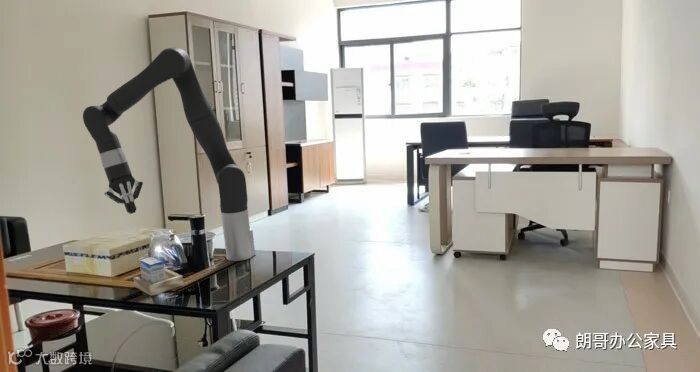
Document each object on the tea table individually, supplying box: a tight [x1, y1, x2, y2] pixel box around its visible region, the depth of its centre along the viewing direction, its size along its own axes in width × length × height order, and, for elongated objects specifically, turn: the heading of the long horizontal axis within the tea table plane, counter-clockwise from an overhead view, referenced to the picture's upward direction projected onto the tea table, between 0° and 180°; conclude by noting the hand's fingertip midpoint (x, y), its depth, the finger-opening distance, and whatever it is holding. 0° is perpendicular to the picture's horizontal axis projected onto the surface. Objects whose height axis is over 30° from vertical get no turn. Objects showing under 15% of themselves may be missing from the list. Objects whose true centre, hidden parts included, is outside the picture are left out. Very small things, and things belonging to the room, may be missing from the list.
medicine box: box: [139, 256, 166, 284], centre depth 164 cm, size 8×4×9 cm, turn 45°
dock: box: [133, 267, 184, 297], centre depth 165 cm, size 10×12×3 cm
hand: (132, 213), depth 179 cm, fingers closed
